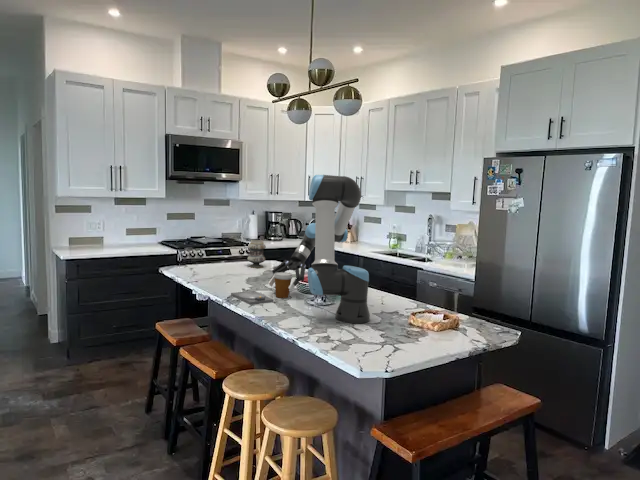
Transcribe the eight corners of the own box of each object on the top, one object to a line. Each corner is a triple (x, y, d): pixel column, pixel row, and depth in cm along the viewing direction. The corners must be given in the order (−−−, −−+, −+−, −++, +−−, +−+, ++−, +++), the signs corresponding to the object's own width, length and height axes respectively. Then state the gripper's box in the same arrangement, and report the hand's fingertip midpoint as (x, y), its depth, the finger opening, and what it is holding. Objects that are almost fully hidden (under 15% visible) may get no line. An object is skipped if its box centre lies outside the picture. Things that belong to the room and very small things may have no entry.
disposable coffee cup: (288, 299, 242) (289, 276, 240) (270, 297, 244) (271, 274, 242) (293, 295, 251) (294, 273, 250) (275, 293, 253) (277, 271, 252)
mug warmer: (231, 295, 244) (231, 289, 243) (253, 293, 251) (253, 287, 251) (250, 304, 228) (250, 298, 228) (273, 301, 236) (274, 295, 235)
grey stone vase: (258, 264, 335) (260, 239, 333) (268, 268, 326) (269, 241, 324) (243, 266, 328) (244, 239, 326) (253, 269, 319) (254, 242, 317)
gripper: (321, 263, 250) (301, 296, 240) (285, 256, 265) (265, 287, 255) (316, 254, 246) (295, 287, 235) (279, 248, 260) (258, 278, 250)
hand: (279, 287), depth 245 cm, fingers open, 13 cm apart
